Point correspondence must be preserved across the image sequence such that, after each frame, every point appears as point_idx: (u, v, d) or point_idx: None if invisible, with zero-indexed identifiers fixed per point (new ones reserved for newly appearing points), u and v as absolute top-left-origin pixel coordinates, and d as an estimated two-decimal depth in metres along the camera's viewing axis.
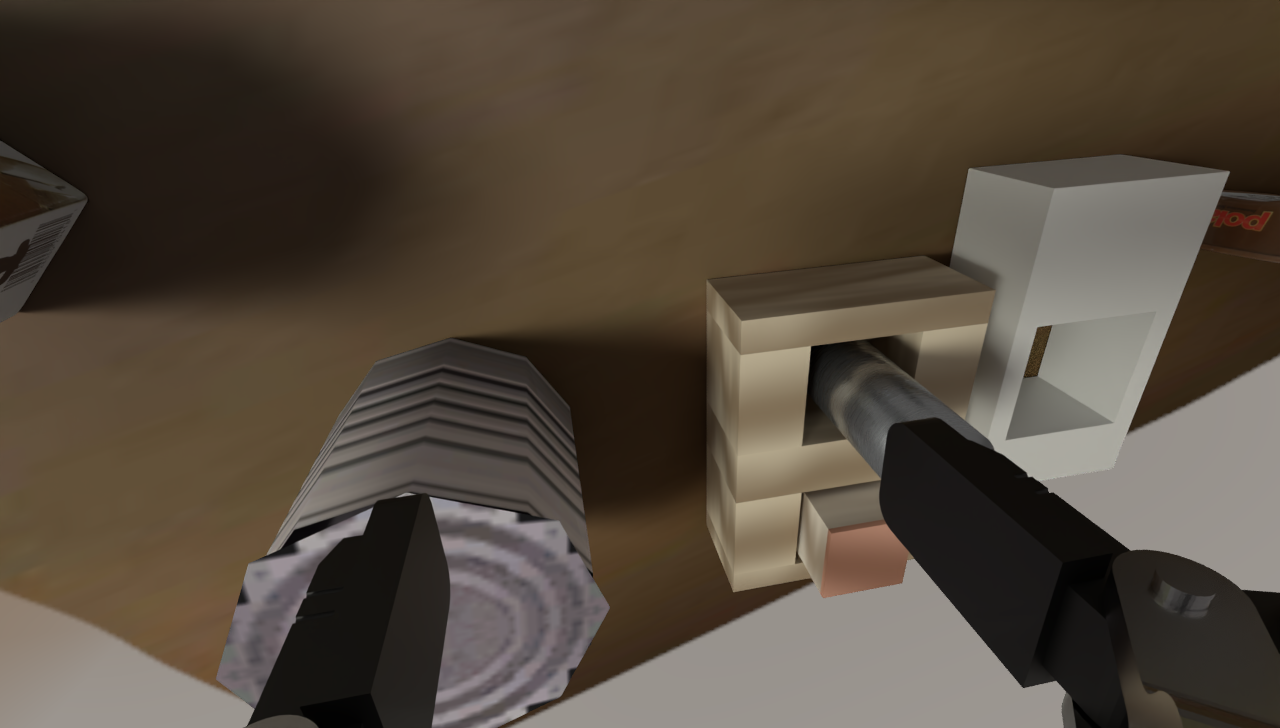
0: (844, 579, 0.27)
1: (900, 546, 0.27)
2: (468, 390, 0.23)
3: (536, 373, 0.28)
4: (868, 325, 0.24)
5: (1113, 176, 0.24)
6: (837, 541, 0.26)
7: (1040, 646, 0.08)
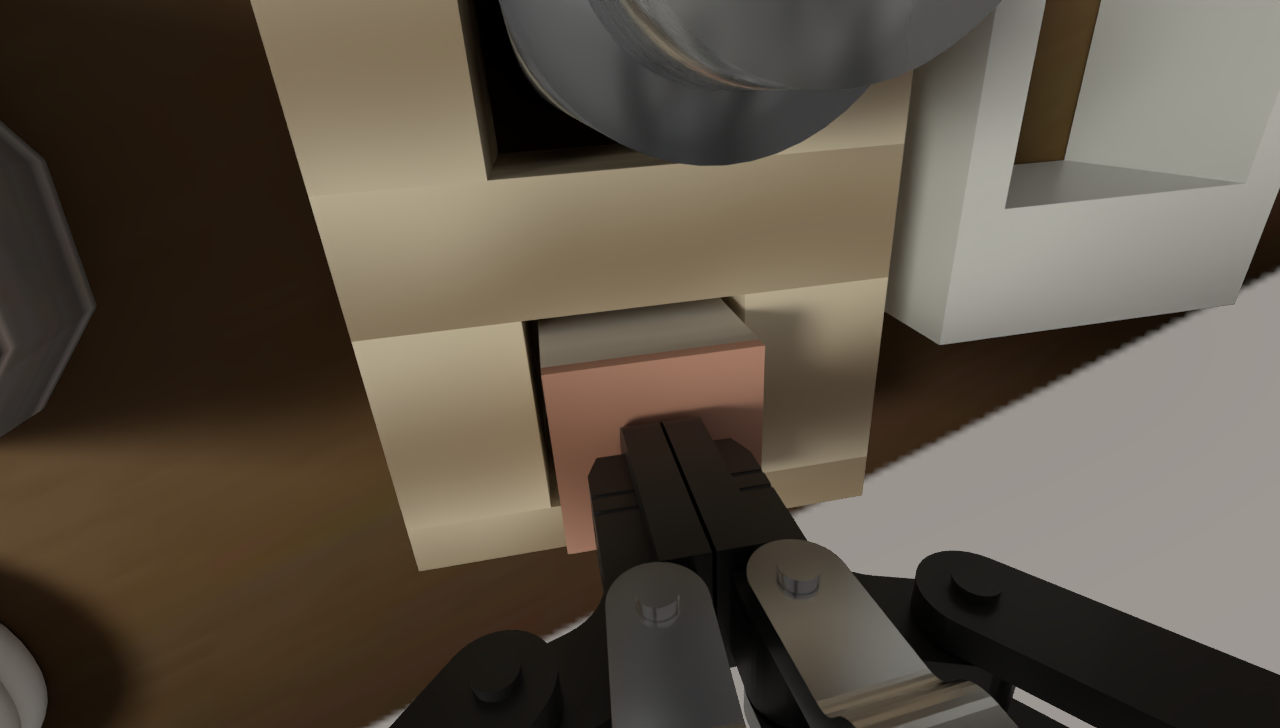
0: None
1: (738, 422, 0.11)
2: None
3: None
4: None
5: None
6: (565, 400, 0.10)
7: (722, 630, 0.08)
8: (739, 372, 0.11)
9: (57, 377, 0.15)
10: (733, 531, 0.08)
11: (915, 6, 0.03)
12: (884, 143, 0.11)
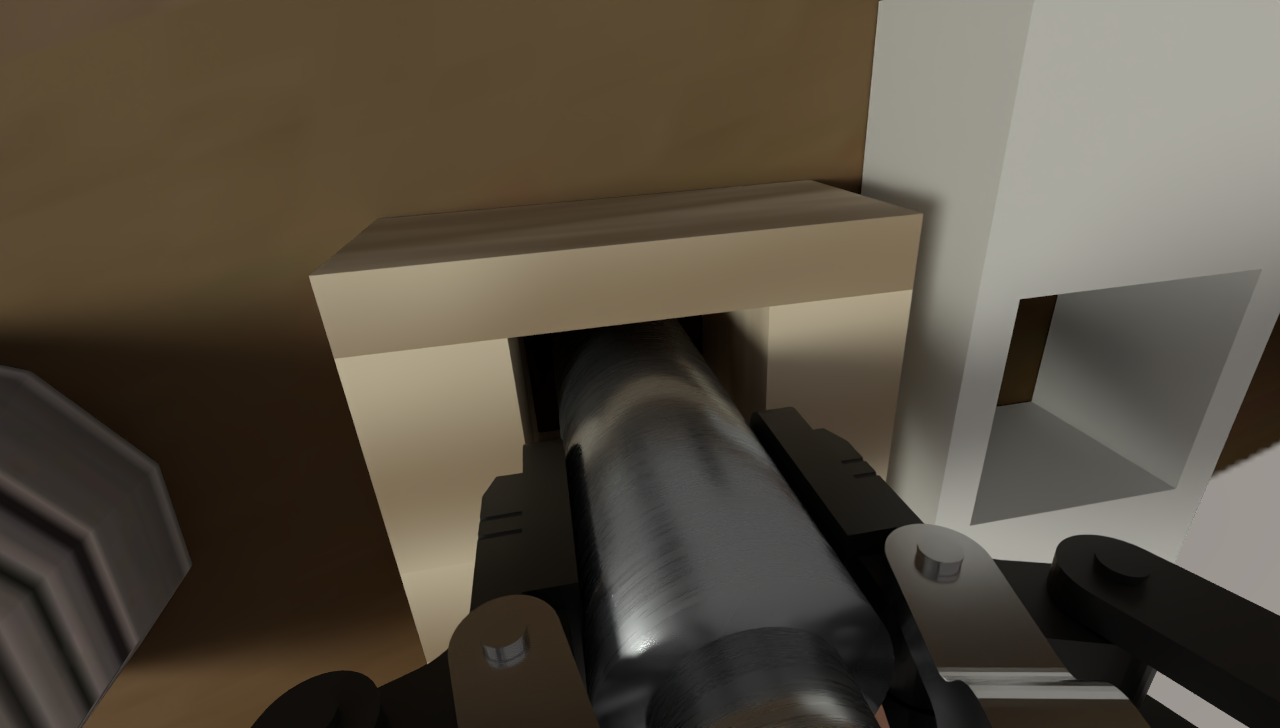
0: None
1: None
2: None
3: (45, 403, 0.14)
4: (637, 291, 0.11)
5: None
6: None
7: None
8: None
9: (155, 620, 0.18)
10: (858, 517, 0.08)
11: None
12: None
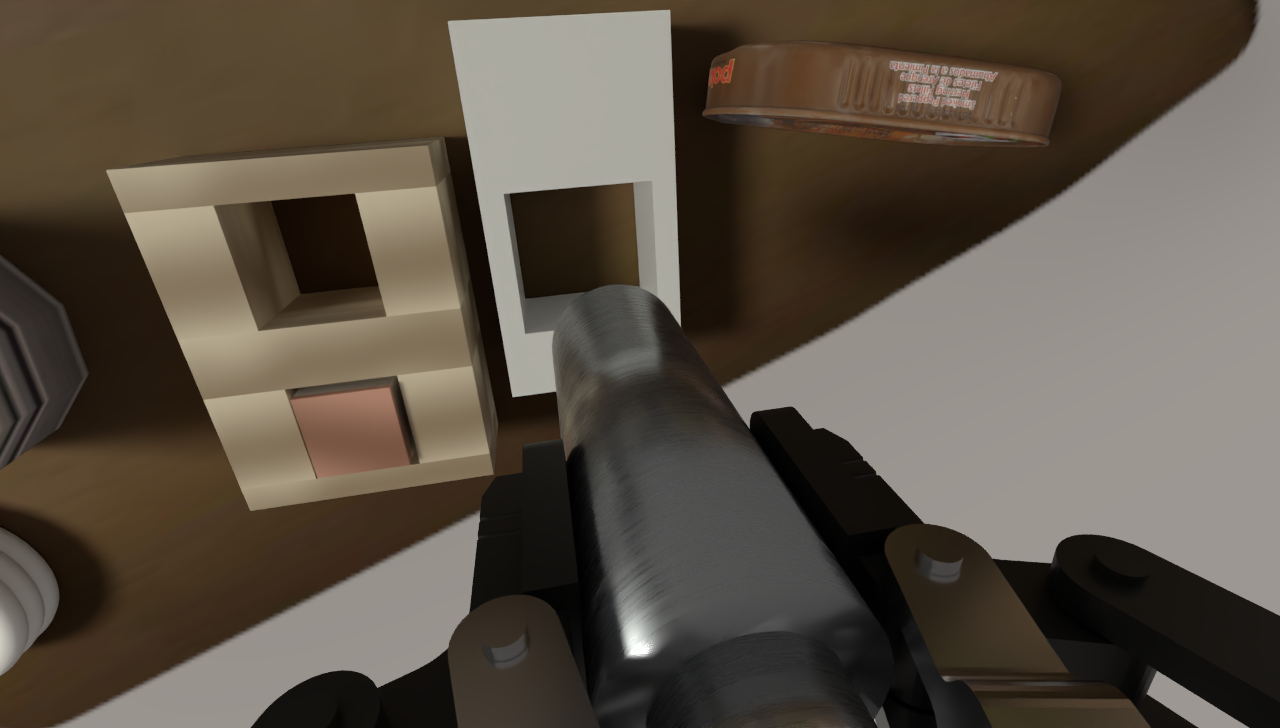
0: (333, 456, 0.26)
1: (386, 419, 0.26)
2: None
3: None
4: (278, 182, 0.22)
5: None
6: (303, 410, 0.25)
7: None
8: (380, 398, 0.26)
9: (67, 410, 0.29)
10: (859, 516, 0.08)
11: None
12: (450, 308, 0.25)
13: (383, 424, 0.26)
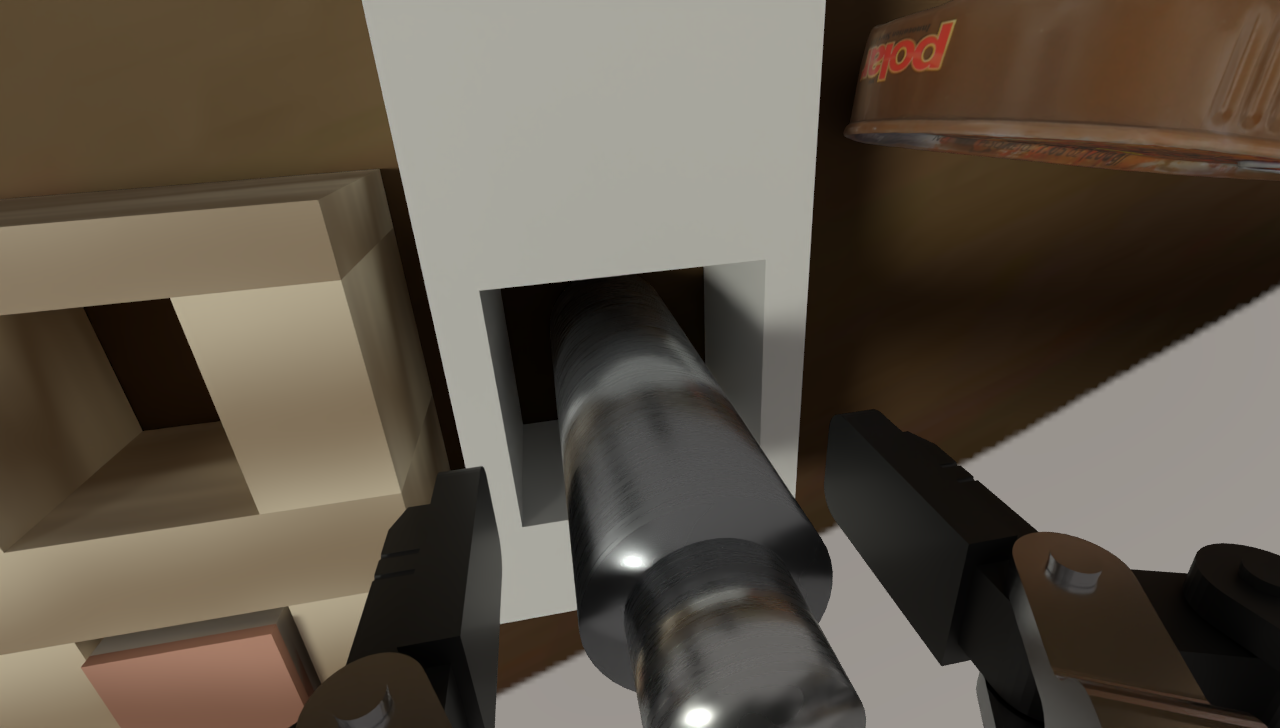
0: None
1: (270, 682, 0.14)
2: None
3: None
4: None
5: None
6: (109, 680, 0.14)
7: (955, 625, 0.08)
8: (255, 652, 0.14)
9: None
10: (975, 524, 0.08)
11: None
12: (381, 494, 0.13)
13: (266, 689, 0.14)
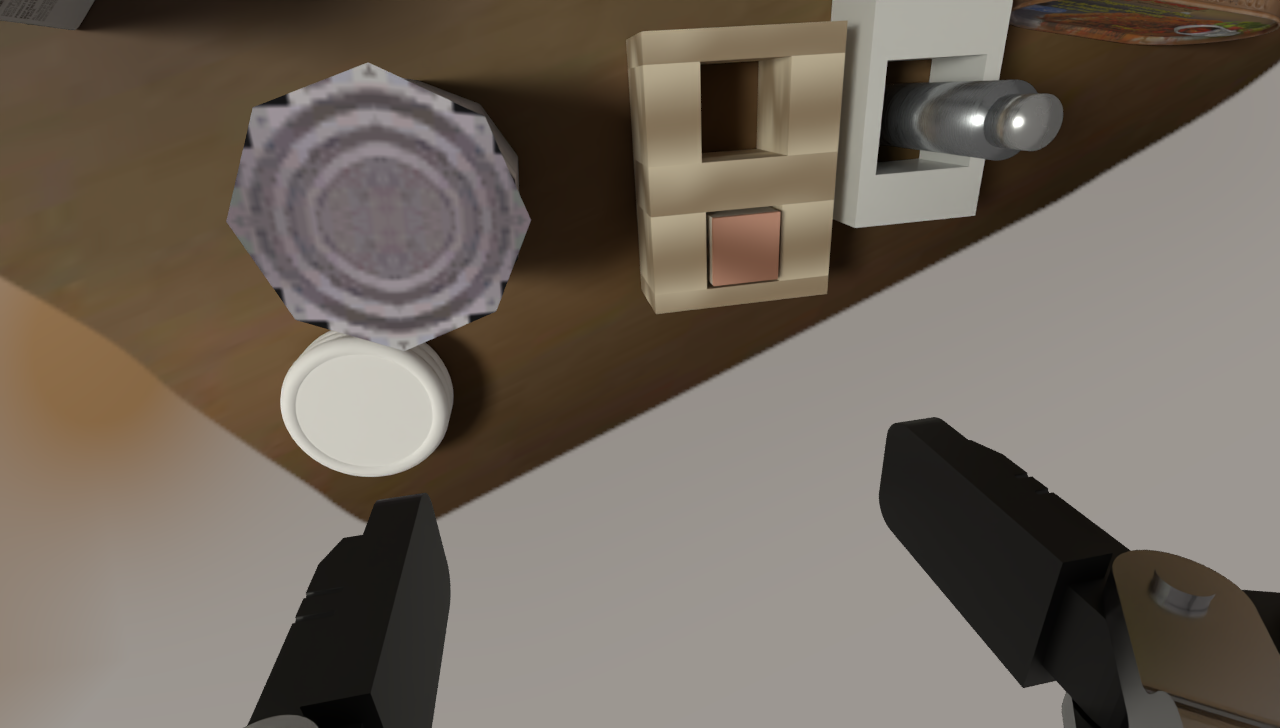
0: (729, 268, 0.35)
1: (771, 238, 0.35)
2: (426, 87, 0.30)
3: (488, 116, 0.34)
4: (745, 45, 0.31)
5: None
6: (719, 227, 0.34)
7: (1040, 646, 0.08)
8: (772, 220, 0.34)
9: None
10: (1065, 541, 0.07)
11: (1042, 141, 0.27)
12: (830, 151, 0.34)
13: (768, 243, 0.35)
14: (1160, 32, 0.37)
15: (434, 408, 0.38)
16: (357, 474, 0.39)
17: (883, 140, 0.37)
